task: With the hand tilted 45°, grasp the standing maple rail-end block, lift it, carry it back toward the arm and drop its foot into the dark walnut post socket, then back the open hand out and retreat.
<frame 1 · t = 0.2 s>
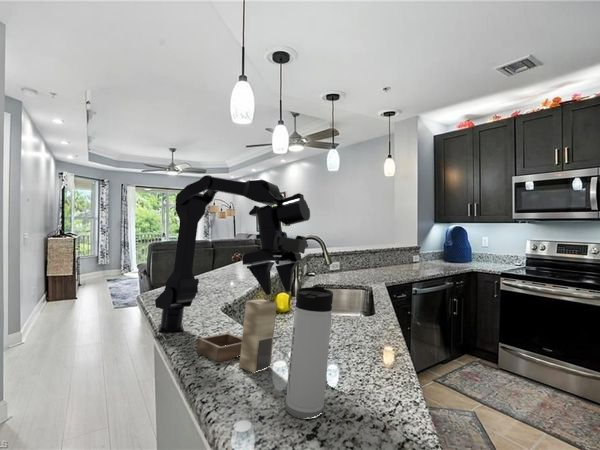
hand: (278, 293, 77), 15 cm above the worktop, tool tilted 15°, fingers open, 9 cm apart
post socket: (223, 352, 76), on the worktop
travel mug: (304, 410, 53), on the worktop
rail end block: (254, 367, 69), on the worktop
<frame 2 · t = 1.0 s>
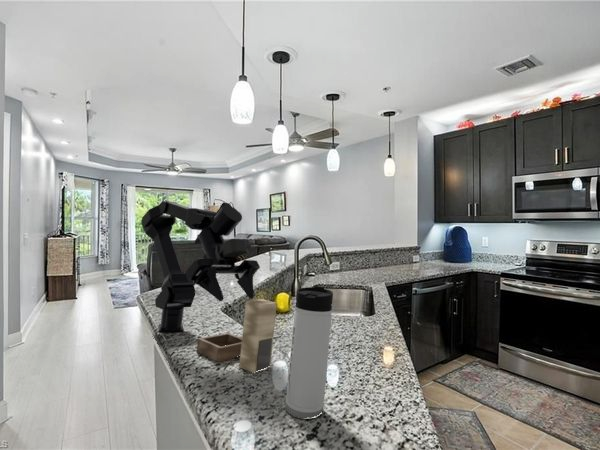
hand: (237, 298, 75), 13 cm above the worktop, tool tilted 45°, fingers open, 9 cm apart
nothing on the worktop moved.
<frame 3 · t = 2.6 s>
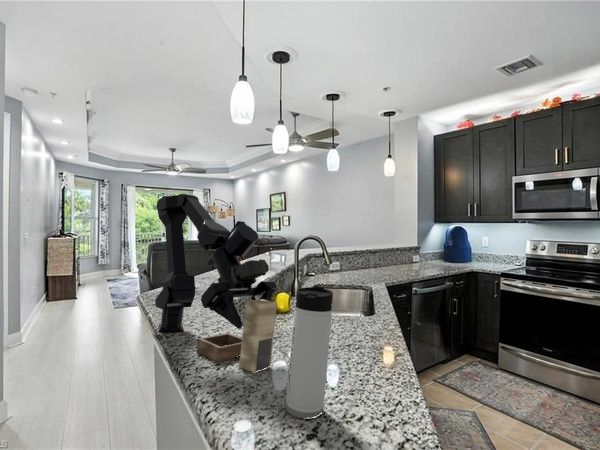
hand: (256, 325, 70), 9 cm above the worktop, tool tilted 45°, fingers open, 9 cm apart
nothing on the worktop moved.
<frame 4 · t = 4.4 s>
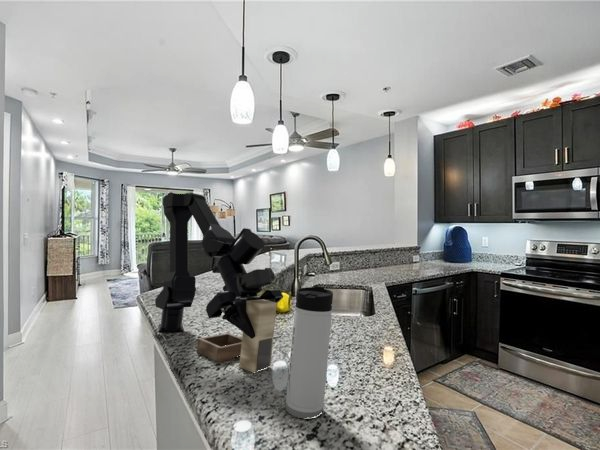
hand: (262, 335, 69), 7 cm above the worktop, tool tilted 45°, fingers closed on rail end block, 5 cm apart
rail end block: (254, 367, 69), on the worktop, touching gripper
everything else where it was.
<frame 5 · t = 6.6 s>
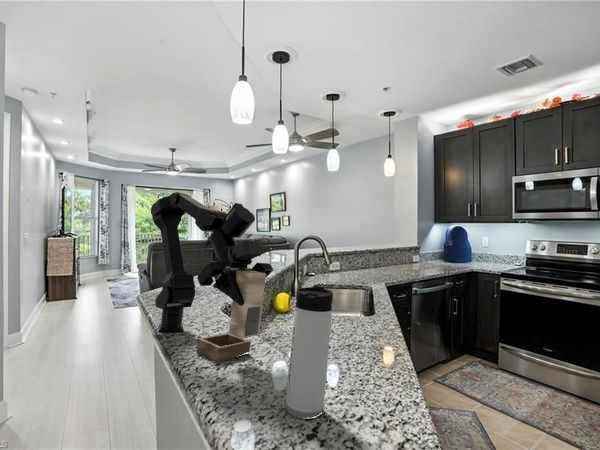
hand: (251, 303, 72), 13 cm above the worktop, tool tilted 45°, fingers closed on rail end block, 5 cm apart
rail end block: (243, 334, 72), point 6 cm above the worktop, touching gripper
everything else where it was.
when the fingers open (8 cm above the worktop, at t = 8.9 s): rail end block drops 1 cm, resting on post socket.
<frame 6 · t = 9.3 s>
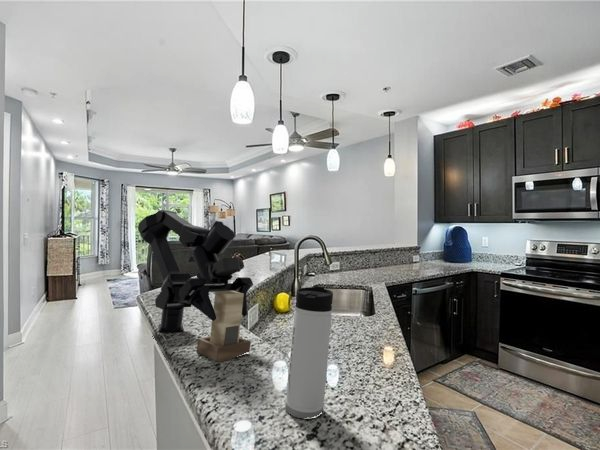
hand: (230, 317, 76), 9 cm above the worktop, tool tilted 45°, fingers open, 9 cm apart
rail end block: (223, 352, 76), resting on post socket
everything else where it was.
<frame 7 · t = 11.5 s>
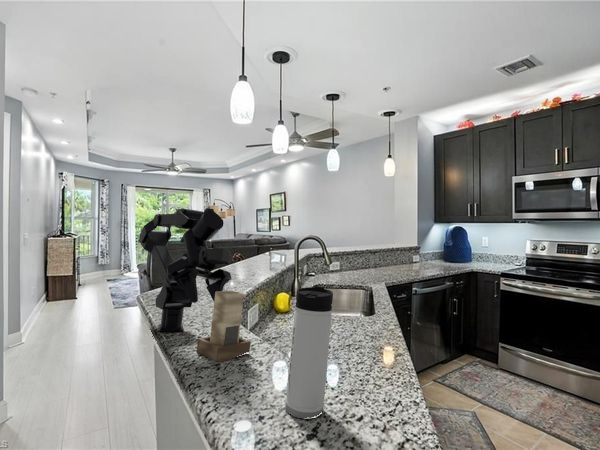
hand: (207, 304, 79), 10 cm above the worktop, tool tilted 35°, fingers open, 9 cm apart
nothing on the worktop moved.
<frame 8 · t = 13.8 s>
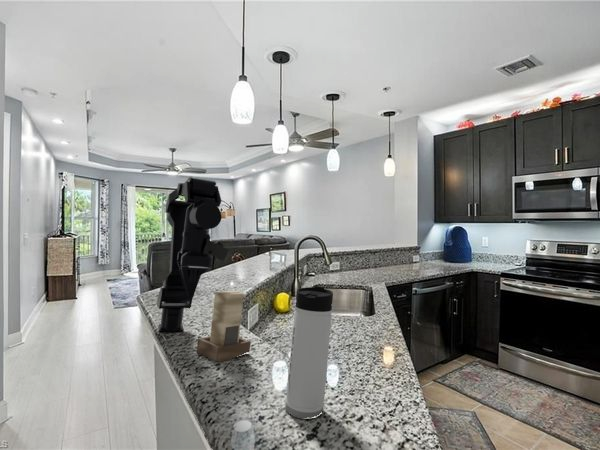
hand: (188, 293, 77), 13 cm above the worktop, tool pointing down, fingers open, 9 cm apart
nothing on the worktop moved.
at the end: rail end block 0.0 cm off-centre on the post socket, point 0.2 cm above the post socket's base; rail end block tilted 0°; the gripper is holding nothing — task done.
